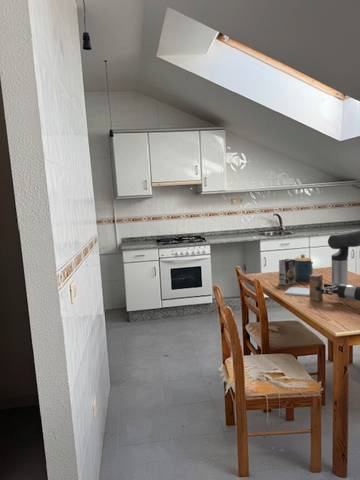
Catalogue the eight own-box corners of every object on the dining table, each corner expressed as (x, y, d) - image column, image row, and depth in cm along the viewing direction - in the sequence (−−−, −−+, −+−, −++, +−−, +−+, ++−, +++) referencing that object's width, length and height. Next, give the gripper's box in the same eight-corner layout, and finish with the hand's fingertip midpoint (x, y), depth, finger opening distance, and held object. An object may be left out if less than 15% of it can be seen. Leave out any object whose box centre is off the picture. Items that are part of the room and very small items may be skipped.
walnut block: (314, 297, 214) (314, 273, 212) (322, 299, 210) (322, 274, 209) (309, 299, 211) (309, 275, 209) (317, 301, 207) (317, 276, 205)
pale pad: (290, 288, 236) (290, 286, 236) (313, 290, 229) (313, 288, 229) (284, 294, 224) (284, 292, 224) (308, 296, 217) (308, 294, 217)
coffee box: (286, 285, 244) (286, 261, 242) (278, 283, 249) (278, 260, 248) (295, 283, 249) (295, 259, 247) (288, 281, 254) (287, 258, 252)
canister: (316, 278, 259) (316, 253, 257) (308, 282, 249) (307, 256, 247) (298, 276, 268) (298, 252, 266) (289, 280, 258) (289, 255, 256)
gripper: (355, 282, 200) (326, 278, 212) (342, 287, 191) (313, 282, 203) (355, 296, 201) (326, 290, 213) (342, 301, 192) (313, 296, 204)
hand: (320, 287), depth 208 cm, fingers open, 8 cm apart
